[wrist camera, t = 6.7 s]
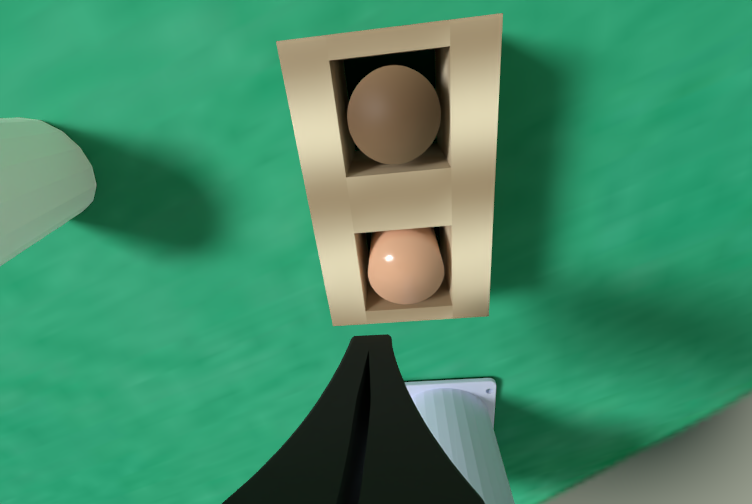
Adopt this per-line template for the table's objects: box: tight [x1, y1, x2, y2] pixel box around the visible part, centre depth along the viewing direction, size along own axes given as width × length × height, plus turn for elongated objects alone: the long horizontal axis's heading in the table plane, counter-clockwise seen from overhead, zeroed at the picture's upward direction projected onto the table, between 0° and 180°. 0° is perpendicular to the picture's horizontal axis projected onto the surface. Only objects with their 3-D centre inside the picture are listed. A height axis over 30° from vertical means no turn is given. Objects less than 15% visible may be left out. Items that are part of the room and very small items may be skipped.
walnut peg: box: [347, 64, 441, 164], centre depth 16 cm, size 4×4×5 cm
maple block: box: [276, 13, 503, 326], centre depth 18 cm, size 13×8×5 cm, turn 6°
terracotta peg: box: [368, 227, 444, 304], centre depth 19 cm, size 4×4×5 cm
